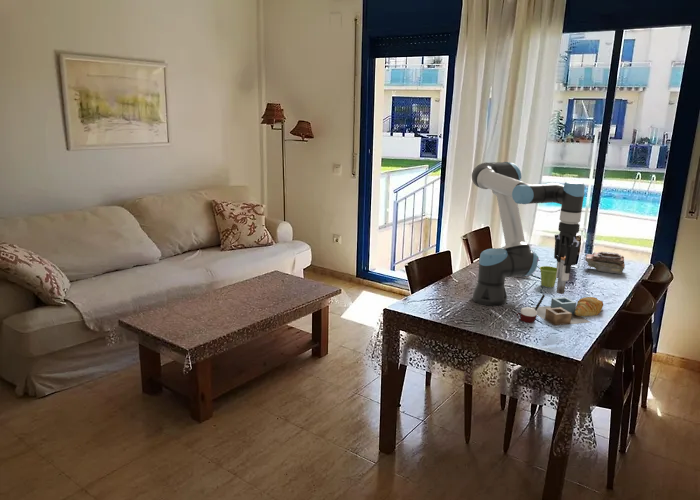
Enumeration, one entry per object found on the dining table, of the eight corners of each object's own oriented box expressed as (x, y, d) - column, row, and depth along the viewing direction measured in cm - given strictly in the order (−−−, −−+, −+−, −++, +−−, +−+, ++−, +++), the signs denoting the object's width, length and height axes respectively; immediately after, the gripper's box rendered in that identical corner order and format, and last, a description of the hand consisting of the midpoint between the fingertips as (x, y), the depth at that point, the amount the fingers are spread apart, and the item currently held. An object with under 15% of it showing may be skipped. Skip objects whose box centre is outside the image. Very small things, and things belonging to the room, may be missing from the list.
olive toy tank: (622, 277, 277) (625, 260, 275) (581, 271, 287) (583, 254, 285) (624, 271, 288) (627, 254, 286) (585, 265, 298) (587, 249, 296)
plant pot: (554, 283, 267) (556, 266, 265) (560, 289, 258) (562, 272, 256) (535, 282, 268) (537, 265, 266) (540, 288, 259) (542, 271, 257)
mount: (555, 324, 214) (556, 314, 213) (545, 317, 220) (546, 308, 219) (570, 322, 215) (571, 313, 214) (559, 316, 222) (560, 307, 221)
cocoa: (515, 322, 216) (518, 294, 213) (518, 317, 222) (520, 290, 219) (539, 327, 212) (543, 298, 209) (542, 322, 218) (545, 294, 214)
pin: (559, 294, 213) (564, 258, 209) (554, 291, 216) (559, 256, 212) (565, 293, 214) (570, 257, 210) (561, 291, 217) (565, 255, 213)
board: (554, 327, 212) (554, 325, 212) (526, 309, 231) (526, 307, 231) (590, 324, 216) (590, 322, 216) (560, 306, 235) (560, 304, 235)
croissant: (580, 327, 221) (591, 314, 216) (562, 310, 226) (572, 297, 221) (604, 315, 234) (615, 302, 229) (586, 299, 239) (597, 286, 234)
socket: (560, 315, 223) (561, 303, 222) (550, 309, 230) (551, 298, 228) (574, 313, 225) (576, 302, 223) (564, 307, 231) (565, 297, 230)
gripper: (591, 226, 201) (583, 284, 207) (565, 217, 216) (558, 272, 222) (574, 226, 199) (566, 286, 205) (549, 217, 214) (542, 273, 220)
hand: (562, 278), depth 214 cm, fingers closed on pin, 3 cm apart
